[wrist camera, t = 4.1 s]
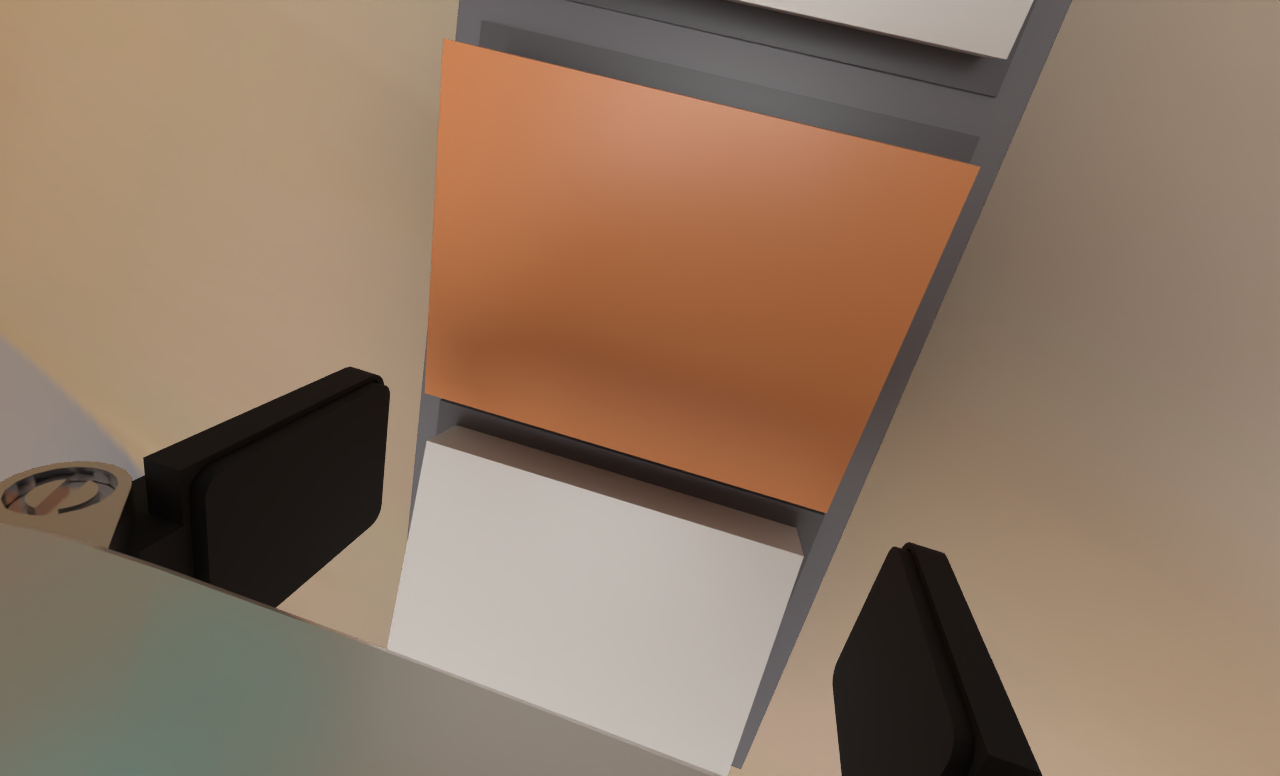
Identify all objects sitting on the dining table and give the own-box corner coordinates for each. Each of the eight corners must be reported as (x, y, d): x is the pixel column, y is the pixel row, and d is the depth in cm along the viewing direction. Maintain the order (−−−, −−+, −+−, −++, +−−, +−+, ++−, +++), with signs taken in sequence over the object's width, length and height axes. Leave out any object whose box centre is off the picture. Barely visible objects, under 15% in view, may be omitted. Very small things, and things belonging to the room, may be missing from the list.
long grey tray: (1465, -1127, 10) (2023, -2153, 5) (744, 678, 25) (740, 785, 20) (680, -1157, 11) (627, -2013, 7) (448, 581, 26) (387, 662, 22)
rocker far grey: (796, 527, 17) (804, 556, 15) (717, 758, 19) (716, 807, 17) (455, 425, 18) (427, 440, 16) (410, 652, 20) (379, 688, 18)
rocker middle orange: (954, 159, 12) (980, 167, 11) (821, 473, 16) (826, 513, 14) (483, 47, 13) (442, 38, 12) (458, 366, 17) (424, 393, 15)
